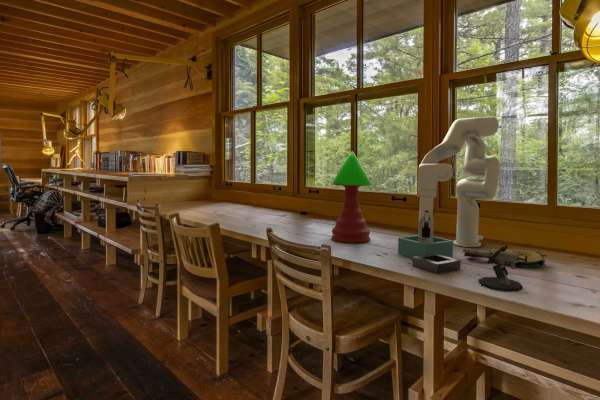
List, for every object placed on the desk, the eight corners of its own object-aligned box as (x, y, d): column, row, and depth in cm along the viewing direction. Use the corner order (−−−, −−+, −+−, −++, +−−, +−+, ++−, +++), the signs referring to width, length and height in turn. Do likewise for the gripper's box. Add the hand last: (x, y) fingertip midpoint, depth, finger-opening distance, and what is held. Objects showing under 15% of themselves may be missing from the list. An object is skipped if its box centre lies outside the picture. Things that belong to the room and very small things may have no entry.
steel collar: (434, 262, 153) (435, 253, 153) (460, 269, 143) (460, 260, 142) (412, 265, 147) (412, 256, 147) (437, 274, 137) (437, 264, 137)
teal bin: (424, 249, 175) (424, 234, 174) (452, 257, 161) (453, 240, 160) (397, 253, 167) (398, 237, 167) (425, 261, 154) (426, 244, 153)
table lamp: (374, 237, 202) (376, 150, 198) (364, 245, 184) (366, 149, 180) (338, 234, 210) (339, 151, 206) (325, 241, 192) (326, 150, 188)
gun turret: (469, 272, 139) (471, 237, 137) (531, 286, 124) (533, 247, 122) (451, 279, 130) (453, 242, 129) (515, 295, 115) (518, 253, 114)
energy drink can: (414, 247, 166) (415, 212, 165) (426, 246, 168) (428, 212, 166) (423, 250, 160) (424, 214, 159) (435, 249, 162) (436, 214, 161)
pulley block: (465, 240, 165) (547, 247, 152) (464, 253, 166) (546, 261, 154) (463, 252, 152) (553, 261, 140) (462, 266, 154) (551, 275, 141)
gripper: (417, 191, 171) (416, 231, 173) (417, 194, 155) (416, 239, 156) (435, 192, 169) (434, 232, 171) (437, 195, 152) (436, 240, 154)
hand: (425, 235), depth 163 cm, fingers closed on energy drink can, 6 cm apart
